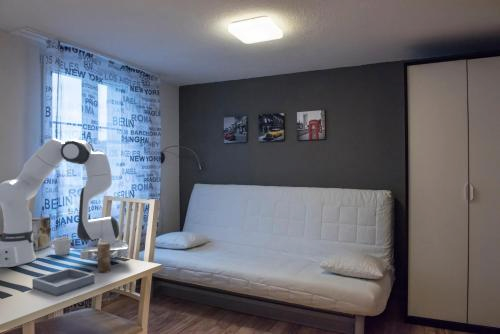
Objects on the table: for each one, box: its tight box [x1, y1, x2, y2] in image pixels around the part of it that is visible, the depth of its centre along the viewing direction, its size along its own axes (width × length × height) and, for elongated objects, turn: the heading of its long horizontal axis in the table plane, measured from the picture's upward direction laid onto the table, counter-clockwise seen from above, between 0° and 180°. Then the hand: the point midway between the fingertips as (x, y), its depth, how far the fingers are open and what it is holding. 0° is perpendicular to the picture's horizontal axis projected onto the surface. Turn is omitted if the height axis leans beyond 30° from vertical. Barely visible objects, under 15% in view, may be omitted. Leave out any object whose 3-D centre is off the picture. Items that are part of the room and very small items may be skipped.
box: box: [31, 267, 96, 297], centre depth 135 cm, size 15×15×4 cm
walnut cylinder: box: [97, 242, 111, 274], centre depth 152 cm, size 5×5×12 cm
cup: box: [49, 236, 72, 256], centre depth 177 cm, size 11×8×8 cm
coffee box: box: [32, 216, 52, 251], centre depth 189 cm, size 9×6×16 cm
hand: (103, 256), depth 151 cm, fingers open, 6 cm apart
